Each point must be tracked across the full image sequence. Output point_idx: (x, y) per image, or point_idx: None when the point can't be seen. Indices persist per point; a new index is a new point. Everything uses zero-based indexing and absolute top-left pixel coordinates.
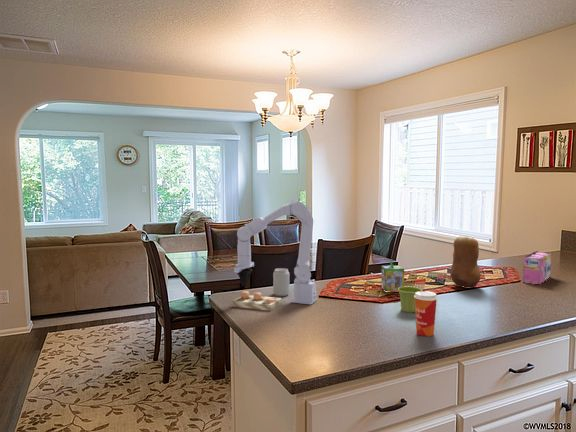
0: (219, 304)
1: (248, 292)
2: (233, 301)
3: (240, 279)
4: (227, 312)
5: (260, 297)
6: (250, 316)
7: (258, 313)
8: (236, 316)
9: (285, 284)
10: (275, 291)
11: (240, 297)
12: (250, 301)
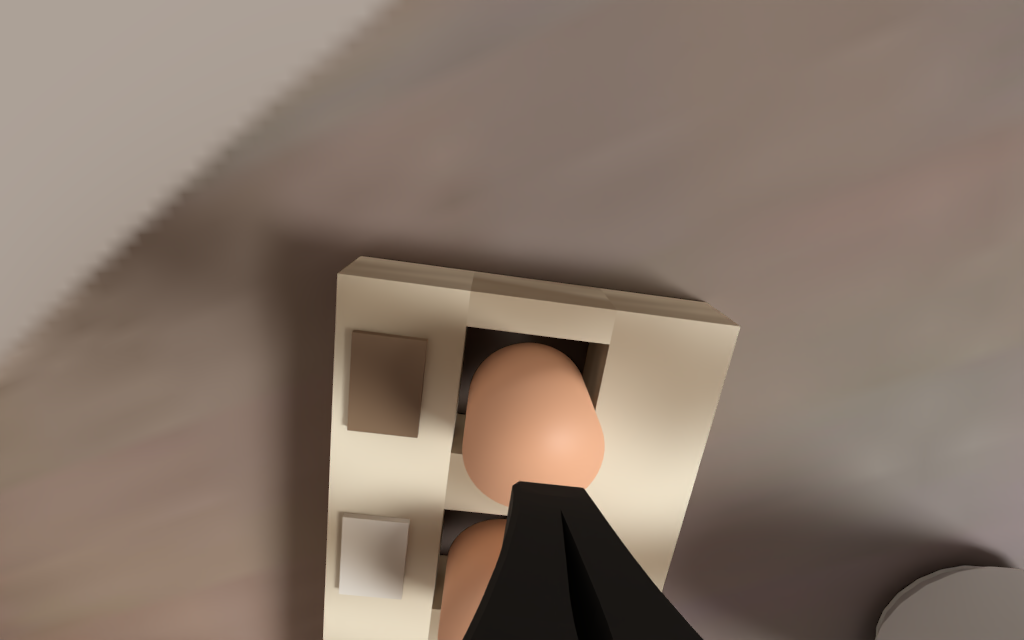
0: (393, 11)
1: None
2: (339, 287)
3: (482, 602)
4: (96, 290)
5: None
6: (93, 569)
7: (218, 605)
8: (16, 444)
9: None
10: (927, 634)
11: (545, 326)
12: (360, 531)
